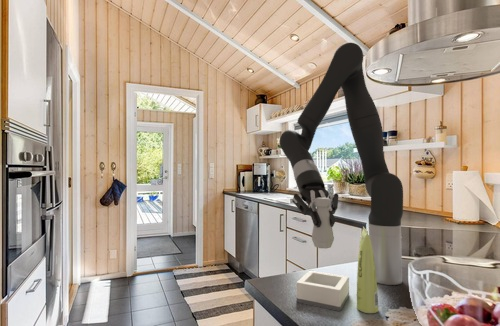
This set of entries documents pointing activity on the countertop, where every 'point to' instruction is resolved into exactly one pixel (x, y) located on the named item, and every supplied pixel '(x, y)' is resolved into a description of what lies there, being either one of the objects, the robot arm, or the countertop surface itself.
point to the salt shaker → (323, 225)
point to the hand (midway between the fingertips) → (325, 225)
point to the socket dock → (323, 290)
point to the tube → (366, 277)
